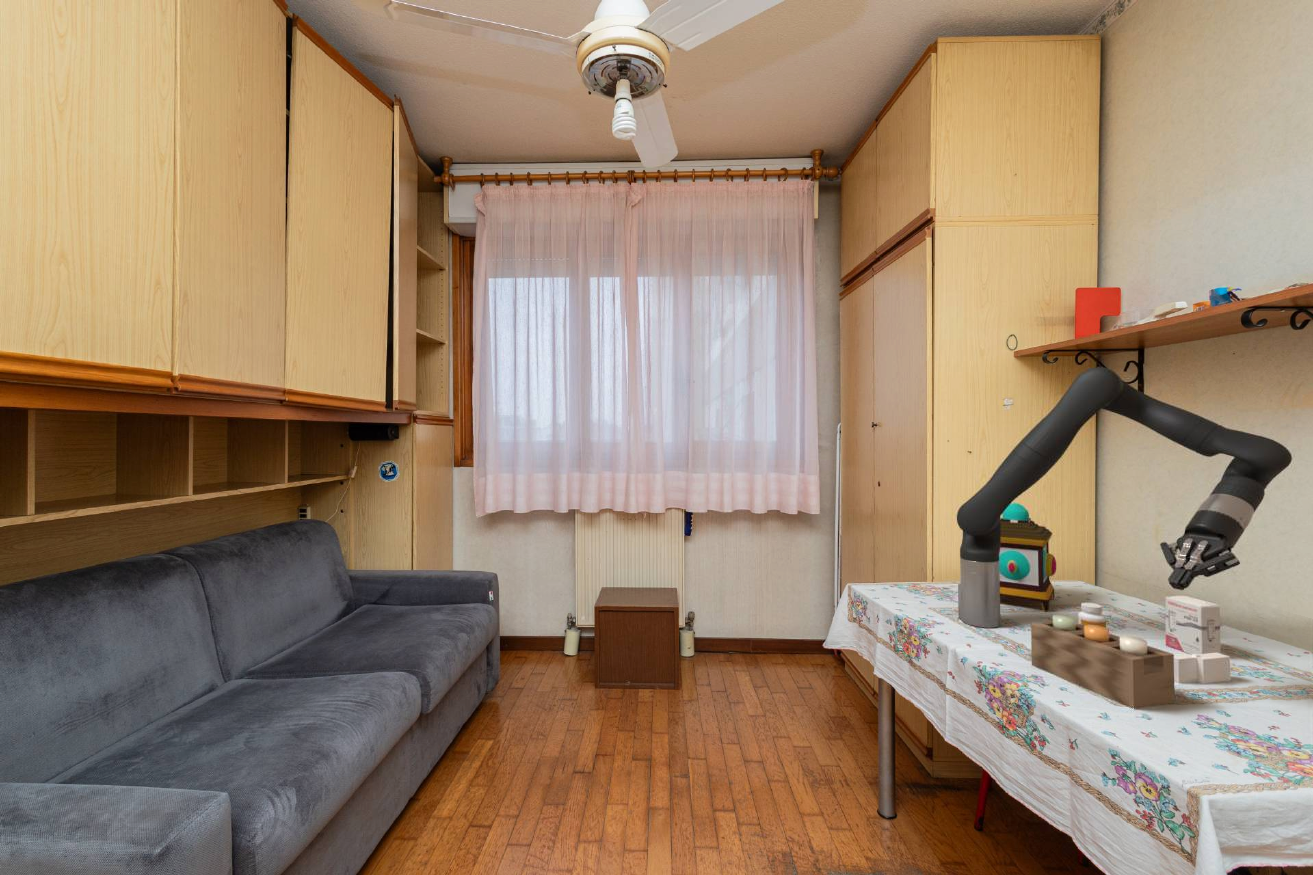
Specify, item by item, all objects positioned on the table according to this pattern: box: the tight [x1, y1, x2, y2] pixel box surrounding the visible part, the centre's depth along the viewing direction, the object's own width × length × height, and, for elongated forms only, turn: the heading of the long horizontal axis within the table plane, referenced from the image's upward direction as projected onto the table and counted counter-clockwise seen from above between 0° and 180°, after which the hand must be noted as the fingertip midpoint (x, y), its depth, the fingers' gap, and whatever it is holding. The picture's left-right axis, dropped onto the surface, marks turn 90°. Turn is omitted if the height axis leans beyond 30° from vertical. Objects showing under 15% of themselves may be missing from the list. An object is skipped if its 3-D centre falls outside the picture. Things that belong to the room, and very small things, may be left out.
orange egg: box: [1084, 625, 1110, 643], centre depth 114 cm, size 4×4×3 cm
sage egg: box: [1052, 614, 1077, 632], centre depth 121 cm, size 4×4×3 cm
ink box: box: [1165, 595, 1222, 655], centre depth 130 cm, size 9×5×12 cm, turn 5°
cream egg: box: [1119, 635, 1148, 656], centre depth 107 cm, size 4×4×3 cm
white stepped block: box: [1173, 652, 1231, 685], centre depth 115 cm, size 15×11×6 cm
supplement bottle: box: [1077, 602, 1107, 628], centre depth 134 cm, size 5×5×10 cm
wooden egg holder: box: [1030, 621, 1176, 710], centre depth 114 cm, size 21×10×9 cm, turn 14°
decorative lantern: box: [999, 502, 1057, 613], centre depth 172 cm, size 20×20×30 cm
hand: (1175, 586), depth 110 cm, fingers closed
